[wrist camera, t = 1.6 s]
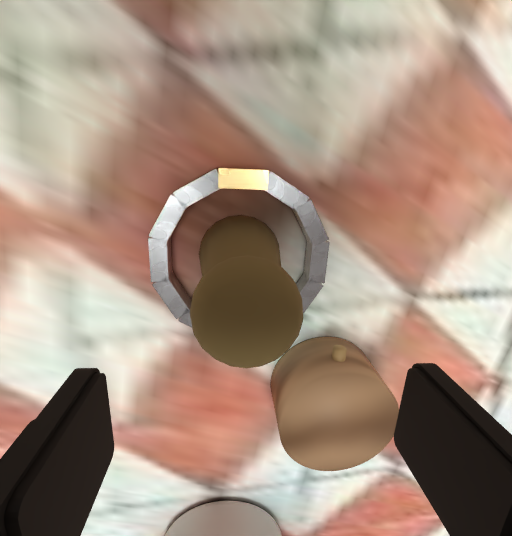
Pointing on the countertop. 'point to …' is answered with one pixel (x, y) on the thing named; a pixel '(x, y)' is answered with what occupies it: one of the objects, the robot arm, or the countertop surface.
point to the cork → (244, 295)
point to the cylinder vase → (225, 521)
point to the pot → (331, 405)
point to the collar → (234, 179)
